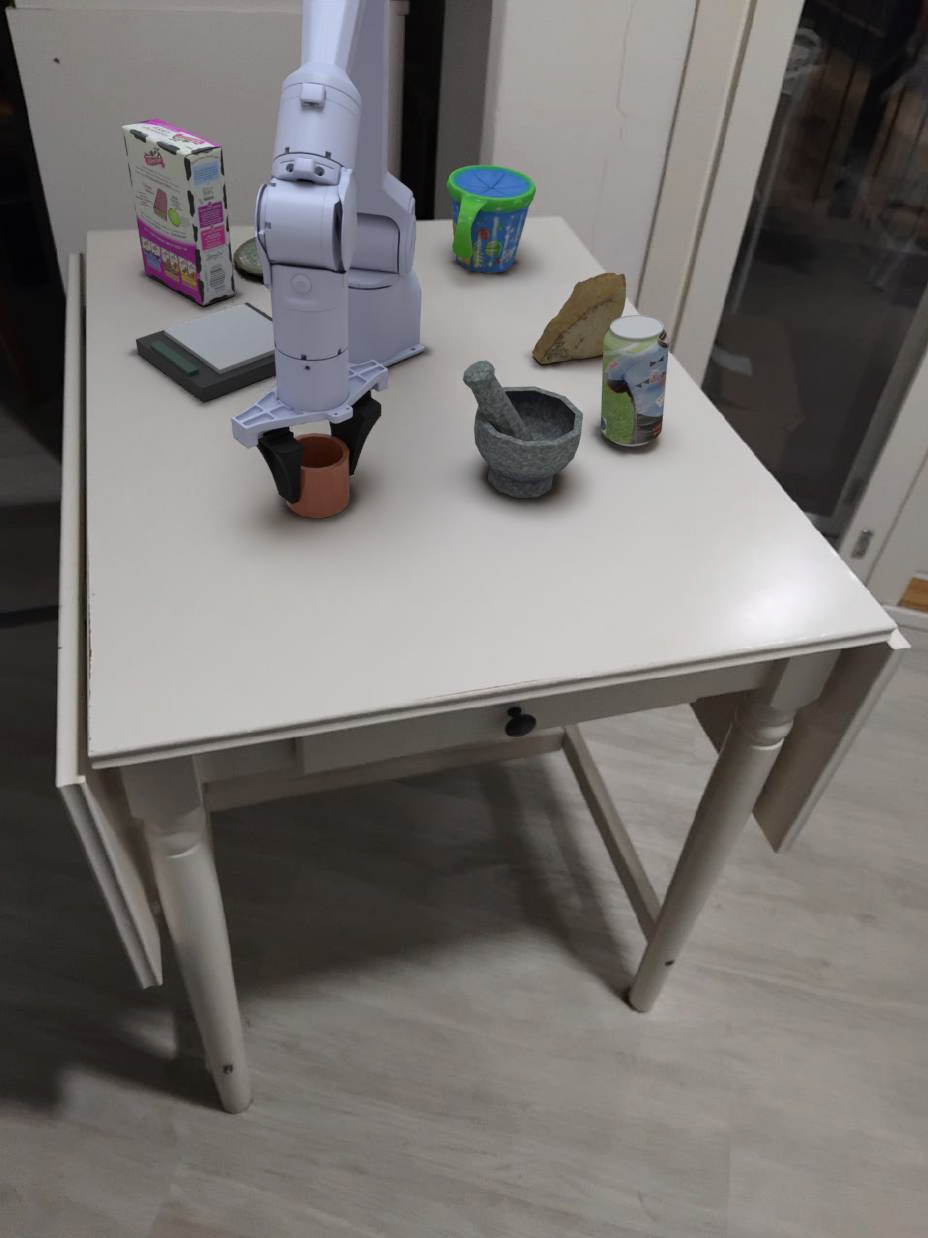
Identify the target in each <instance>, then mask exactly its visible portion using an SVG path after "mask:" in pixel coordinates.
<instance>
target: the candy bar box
mask: <svg viewBox="0 0 928 1238" xmlns="http://www.w3.org/2000/svg"><path fill="white" fill-rule="evenodd" d="M121 129H122V133H123V140H124V146H125V147H124V148H125V153H126V160H127V166H128V172H129V179H130V183H131V184H130V185H131V191H132V198H133V204H134V209H135V210H134V211H135V218H136V224H137V230H138V237H139V242H140V249H141V256H142V261H143V268H144V274H146V275H147V276H149V277H151V278H152V279H154V280H156V281H157V282H159V283H161V284H163V285H165V286H167V287H168V288H170V289H172V290H174V291H176V292H178V293H179V294H181V295H183V296H185V297H187V298H188V299H191V300H192V301H194V302H196V303H197V304H199V305H201V306H207V305H210V304H213V303H216V302H218V301H222V300H225V299H228V298H230V297H233V296H235V295H236V287H235V277H234V276H235V275H234V267H233V254H232V245H231V232H230V225H229V210H228V199H227V188H226V175H225V166H224V155H223V153H224V152H223V145H221V144H219V143H215V142H213V141H211V140H209V139H206V138H204V137H201V136H199V135H197V134H195V133H193V132H190V131H187V130H185V129H184V128H181V127H178V126H176V125H174V124H172V123H170V122H167V121H165V120H162V119H160V118H154V119H148V120H143V121H139V122H138V121H137V122H135V123H130V124H126V125H122V126H121Z"/></svg>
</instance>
